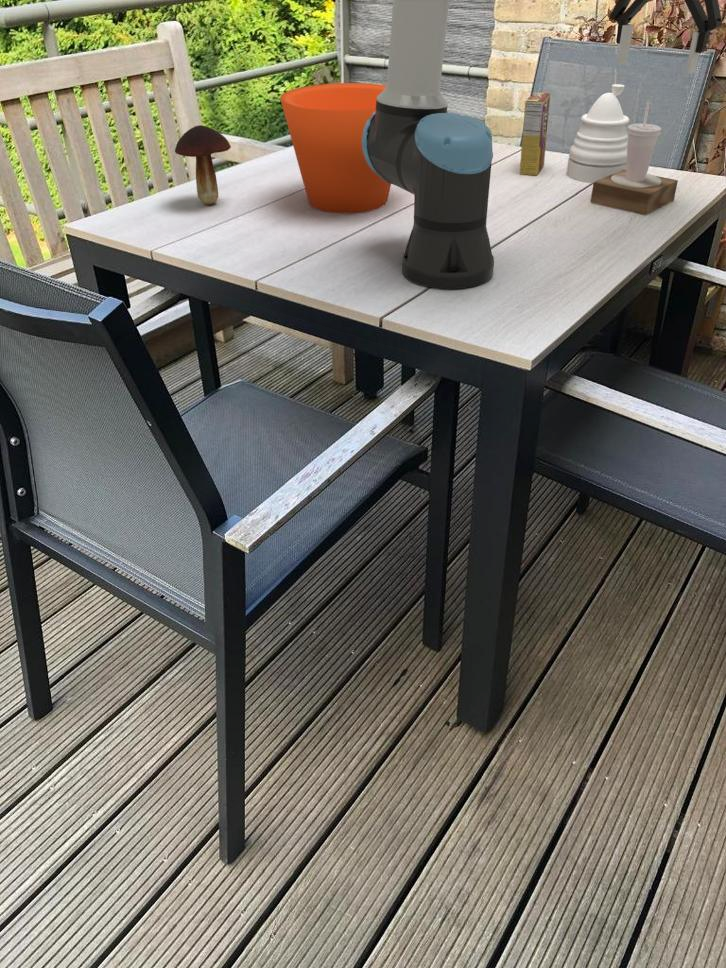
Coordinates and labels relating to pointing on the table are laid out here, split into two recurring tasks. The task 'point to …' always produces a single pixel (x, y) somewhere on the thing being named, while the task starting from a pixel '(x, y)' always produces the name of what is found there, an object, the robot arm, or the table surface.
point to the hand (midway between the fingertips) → (655, 68)
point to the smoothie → (640, 148)
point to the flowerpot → (335, 145)
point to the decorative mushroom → (203, 158)
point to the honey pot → (600, 140)
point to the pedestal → (633, 192)
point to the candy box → (534, 133)
